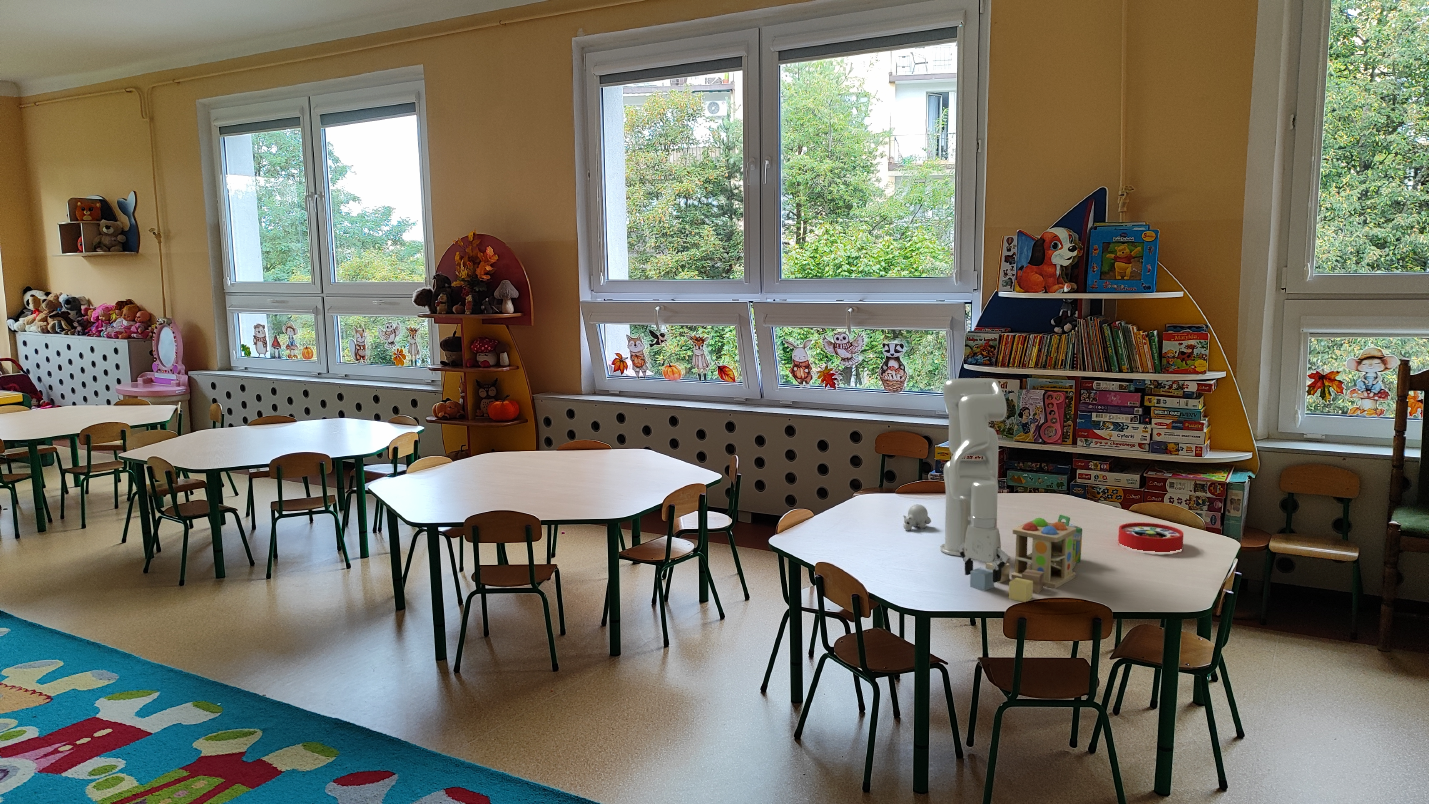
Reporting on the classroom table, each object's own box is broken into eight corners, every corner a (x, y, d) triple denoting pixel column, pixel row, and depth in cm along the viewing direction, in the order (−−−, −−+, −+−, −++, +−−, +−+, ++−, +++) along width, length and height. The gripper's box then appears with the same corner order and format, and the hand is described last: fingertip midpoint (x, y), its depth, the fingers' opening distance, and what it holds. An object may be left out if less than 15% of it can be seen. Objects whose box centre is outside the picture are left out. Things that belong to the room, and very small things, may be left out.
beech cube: (996, 575, 290) (996, 560, 289) (1009, 579, 286) (1009, 564, 285) (985, 578, 287) (985, 563, 287) (998, 583, 283) (998, 567, 282)
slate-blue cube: (979, 583, 283) (980, 567, 282) (994, 587, 279) (994, 571, 279) (970, 586, 280) (970, 570, 279) (984, 591, 276) (984, 574, 276)
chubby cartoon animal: (899, 535, 345) (893, 515, 342) (920, 518, 351) (914, 499, 348) (914, 539, 339) (907, 519, 336) (935, 521, 345) (929, 502, 342)
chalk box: (1039, 558, 306) (1040, 514, 304) (1061, 554, 310) (1063, 511, 308) (1059, 566, 298) (1061, 521, 296) (1082, 562, 301) (1083, 517, 299)
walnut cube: (1026, 585, 281) (1027, 569, 280) (1043, 588, 278) (1044, 571, 277) (1021, 589, 277) (1021, 573, 276) (1038, 592, 274) (1039, 576, 273)
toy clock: (1181, 541, 303) (1115, 533, 313) (1180, 558, 303) (1114, 550, 314) (1185, 526, 320) (1122, 519, 330) (1184, 543, 321) (1122, 535, 331)
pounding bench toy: (1044, 561, 303) (1046, 508, 300) (1087, 570, 293) (1089, 515, 290) (1010, 578, 287) (1011, 522, 284) (1054, 589, 277) (1056, 530, 274)
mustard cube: (1015, 594, 273) (1016, 577, 273) (1032, 597, 270) (1032, 581, 269) (1008, 598, 270) (1009, 582, 269) (1025, 602, 266) (1026, 585, 266)
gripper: (951, 519, 281) (951, 574, 283) (1002, 529, 268) (1000, 587, 270) (966, 514, 286) (965, 569, 288) (1016, 525, 273) (1015, 581, 275)
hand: (982, 577), depth 279 cm, fingers open, 9 cm apart
